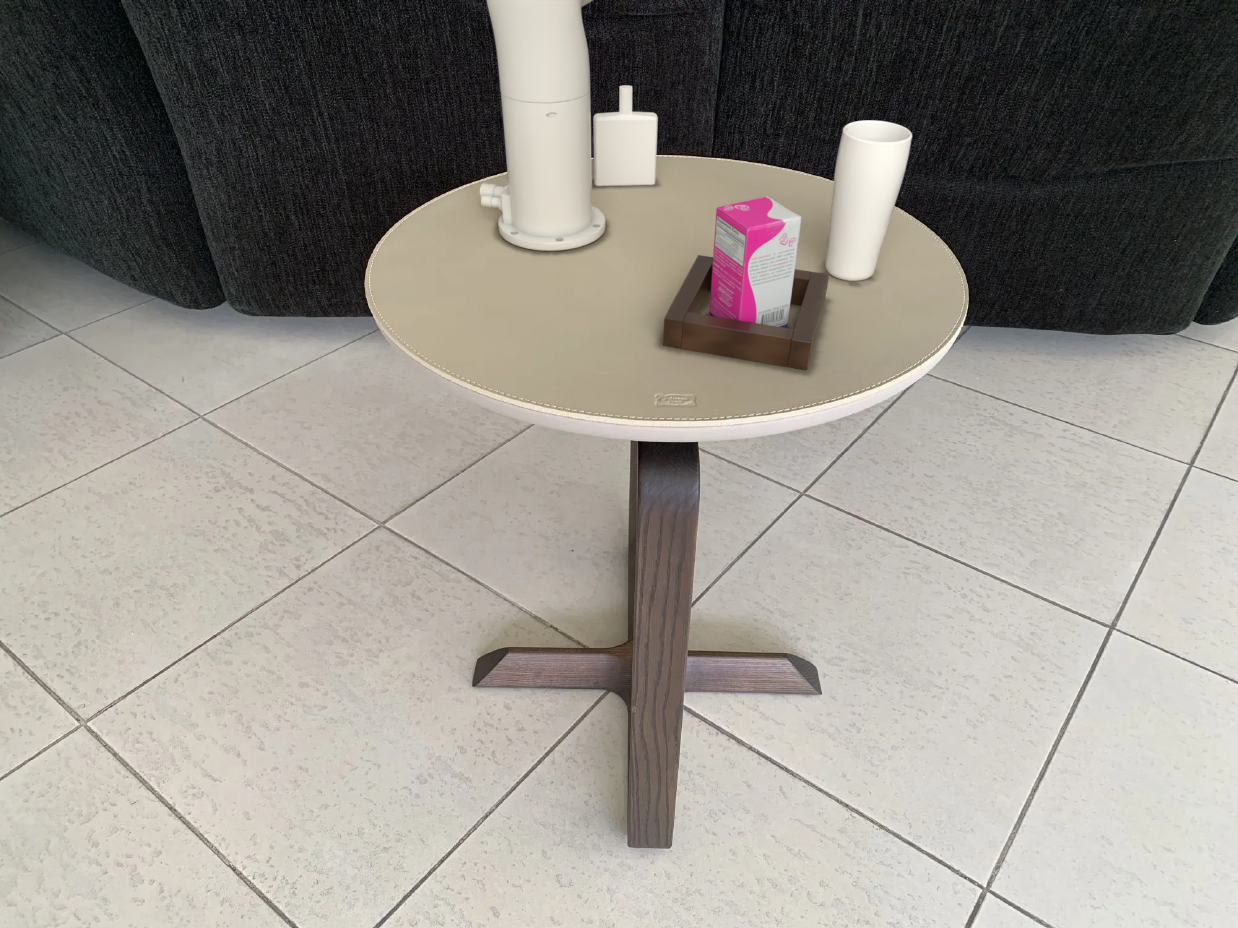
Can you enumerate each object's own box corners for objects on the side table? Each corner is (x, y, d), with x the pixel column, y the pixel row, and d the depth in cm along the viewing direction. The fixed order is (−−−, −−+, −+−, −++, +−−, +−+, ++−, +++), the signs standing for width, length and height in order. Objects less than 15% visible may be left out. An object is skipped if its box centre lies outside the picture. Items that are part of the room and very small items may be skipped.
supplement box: (755, 302, 85) (768, 194, 78) (788, 330, 81) (805, 218, 74) (706, 314, 83) (715, 204, 76) (737, 343, 79) (750, 230, 72)
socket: (662, 345, 79) (663, 318, 77) (696, 280, 89) (698, 254, 87) (806, 370, 76) (811, 342, 74) (824, 300, 86) (829, 274, 84)
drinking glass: (835, 252, 94) (861, 115, 85) (891, 270, 91) (925, 129, 81) (806, 273, 90) (829, 132, 81) (863, 293, 87) (894, 148, 77)
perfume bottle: (654, 179, 110) (657, 83, 102) (656, 185, 109) (659, 88, 101) (593, 181, 110) (592, 85, 102) (594, 187, 108) (593, 89, 100)
